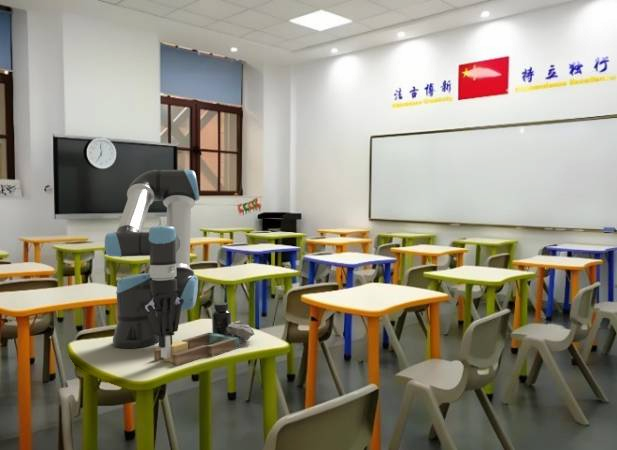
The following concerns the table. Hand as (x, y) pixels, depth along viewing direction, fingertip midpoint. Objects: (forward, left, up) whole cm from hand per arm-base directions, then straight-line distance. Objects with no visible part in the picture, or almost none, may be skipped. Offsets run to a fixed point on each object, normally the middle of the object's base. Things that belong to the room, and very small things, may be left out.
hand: (165, 357), depth 150 cm
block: (0, +4, -2) cm, 4 cm away
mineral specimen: (+3, +28, -2) cm, 29 cm away
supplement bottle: (-7, +30, -2) cm, 31 cm away
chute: (0, +11, -2) cm, 11 cm away
